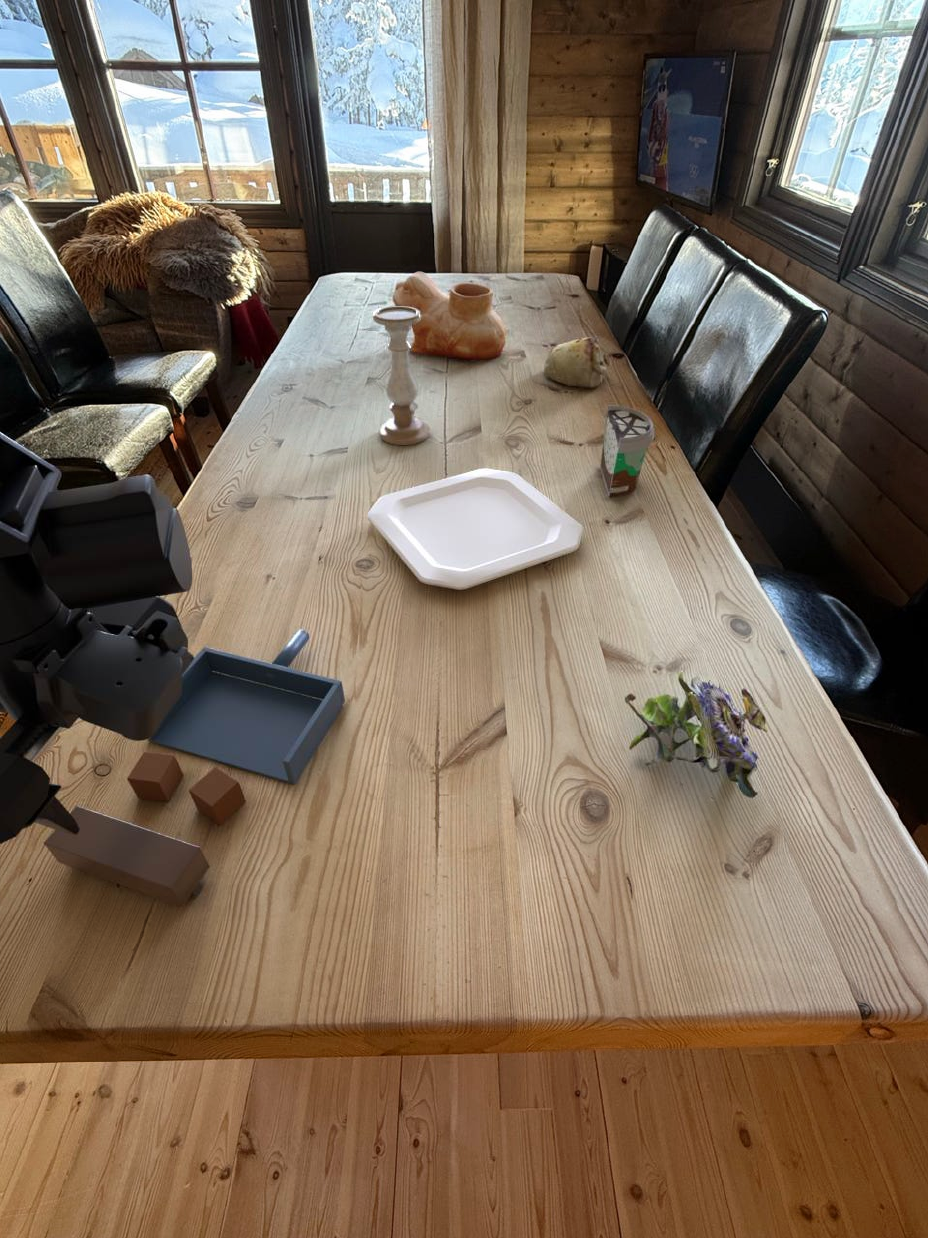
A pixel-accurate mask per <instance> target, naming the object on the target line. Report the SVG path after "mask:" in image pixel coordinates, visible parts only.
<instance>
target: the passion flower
mask: <svg viewBox="0 0 928 1238" xmlns="http://www.w3.org/2000/svg"><path fill="white" fill-rule="evenodd" d="M684 673H685V671H684V670H680V671H679V672H678V677H677V680H678V683H679V685H680V687H681V688H682V690H683V692H684V695H685V699H684V701H683V704H682V707H680V706H679V704H678V702H679V701H678V700H679V697H677V695H673V696H671V695H670V694H668V693H663V694H662V695H659V696H656V697H655V698H654V697H648V698H647V700H646V702H645V703H644V706H643V708H642V710H641V711H640V713H639V711H638V710H637V709H636V707H635V706H634V704H632V703H631V702H633V701H635V700H636V699H637V698H636V697H637V696H635V695H634V694H633V693H631V692H630V693H629V694H627V695H626V696H624V703H625V704H628V706H629V707H630V708H631V710H632V711H633V713H635V714H636V716H637V717H638V718H639V719H640V720H641V721H642V722H643V723H644V724H645V726H646V729H645V730H643V732H641V733H640V734H637V735H636V736H635V737H634V738H633V740H631V742H630V746H629V748H628V750H629V751H632V749H634V748H635V747H636V746H637V745H639V744H640V743H641V742H642V741H644V740H645V739H649V738H654V739H655V740H656V741H657V746H656V748H655V750H654V755H653V757H652V759H650V760H649V761H647V762H645V763H644V764H645V766H646V767H647V766H649V765H653V764H655V763H658V762H667V763H671V762H673V761H674V760H678V761H687V762H690V763H692V764H693V763H694V764H696V763H698V764H700V766H701V767H702V768H703V769H707V770H708V771H709V772H710V773H712V774H713V773H718V772H720V770H721V769H722V768H723V766H724V767H725V771H726V772H725V773H726V775H727V777H728V780H729V781H731V782H732V783H736V784H737V786H738V790H739V791H740V792H741V794H743V795H744V796H745V797H747V798H749V799H753V798H755V797H756V796H757V795H758V794H759V792H758V791H757V790H756V788H755V787H754V784H753V780H752V775H753V773H755V772H756V771H757V770H758V764H757V760H758V759H759V757H758V754H757V753H755V751H753V749H752V748H751V745H750V744H749V738H748V737H746V735H745V732H746V729H745V726H746V725H745V724H746V720H747V721H748V723H749V725H751V726H752V727H753V728H755V729H757V730H759V731H760V730H761V731H763V732H765V733H767V732H768V728H767V726H766V723H767V721H766V717H765V716H764V714H763V712H762V710H761V708H760V707H759V706H758V705H757V703H756V702H755V700H754V697H753V696H752V694H751V693H750V692H749V691H748V690H747V689H746V688H742V689H741V696H742V701H743V705H744V710H745V713H743V714H742V712H741V711H739V710H736V708H734V703H732V697H730V695H729V694H727V693H726V692H725V689H724V688H722V687H721V684H720V683H719V684H718V687H717V686H716V685H715V683H712V684H711V683H710V682H711V679H709V681H708V682H706V681H701V678H700V676H699V675H698V674H697V675H694V676H693V677H692V679H690V683H689V682H688V681H687V680H684V675H683V674H684ZM695 717H696V719H697V721H699V722H700V724H701V725H699V724H694V722H690V720H691V719H692V718H695ZM678 729H681V730H683V731H684V732H685V733H686V735H687V737H688V738H686V739H684V740H683V741H681V742H677V741H676V740H675V734H676V731H677V730H678ZM661 733H664V734H666V735H667V736H668V737H669V740H670V741H669V742H670V743H669V745H668V747H667V746H666V744H665V743H664V741H663V740H662V738H661V737H660V734H661ZM689 741H691V743H692V746H693V747H694V748H695V750H696V752H695V755H694V757H688V756H679V755H676V751H677V749H679V748H680V747H682V746H683V745H686V744H687V743H688V742H689Z"/></svg>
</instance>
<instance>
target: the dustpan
mask: <svg viewBox="0 0 928 1238" xmlns="http://www.w3.org/2000/svg"><path fill="white" fill-rule="evenodd" d="M309 640H310V633H309V632H308V631H307V630H305V629H298V630H297V631H296V632H295V633H294V635H293V636H292V637H291V638H290V640H288V642H287V644H285V646H284V647H283V648H282V650H281V651H280V653H279V654H278V655H277V656H276V657H275V658H274V660H273V661H272V662H267V661H263V660H259V659H256V658H251V657H247V656H243V655H240V654H235V653H231V652H226V651H223V650H218V649H215V648H210V647H207V646H203V648H202V649H201V650H200V651H199V652H198V653H197V654H196V655H195V656H194V660H193V661H192V662H191V664H190V665H189V667H188V668H187V669H186V671H185V672H184V674H183V675H182V694H181V697H180V699H179V700H178V702H177V703H175V704H174V706H173V707H172V708H171V710H170V711H169V713H168V714H167V715H166V717H165V718H164V720H163V721H162V723H161V724H160V727H159V729H158V730H157V731H156V733H155V734H154V735H153V736H152V737H150V738H148V739H147V742H150V743H153V744H157V745H159V746H162V747H166V748H170V749H173V750H176V751H180V752H182V753H183V752H184V753H187V754H190V755H193V756H196V757H199V758H204V759H207V760H210V761H213V762H217V763H220V764H223V765H227V766H231V767H233V768H237V769H240V770H244V771H248V772H251V773H254V774H258V775H261V776H264V777H268V778H271V779H274V780H278V781H281V782H284V783H287V784H291V785H294V786H295V785H296V784H297V782H298V780H299V779H300V777H301V775H302V774H303V772H304V771H305V769H306V767H307V766H308V764H309V763H310V761H311V759H312V758H313V756H314V754H315V753H316V751H317V750H318V749H319V747H320V745H321V743H322V742H323V740H324V738H325V737H326V735H327V734H328V732H329V731H330V729H331V728H332V727H333V726H332V725H334V723H335V721H336V719H337V718H338V716H339V714H341V711H342V710H343V708H344V704H345V702H346V697H345V692H344V686H343V682H342V680H340V679H339V680H338V679H335V678H331V677H326V676H323V675H319V674H315V673H311V672H307V671H302V670H299V669H295V668H291V667H290V666H291V664H292V663H293V662H294V660H295V658H297V656H298V655H299V654H300V652H301V651H302V649H303V648H304V647H305V645H306V644H307V643H308V642H309Z"/></svg>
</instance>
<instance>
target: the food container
mask: <svg viewBox="0 0 928 1238" xmlns="http://www.w3.org/2000/svg"><path fill="white" fill-rule="evenodd" d="M654 429H655V428H654V425H653V420H652V419H651V418H650V417H649V416H648V415H647V414H646V413H644V412H642V411H640V410H637V409H634V408H632V407H627V406H622V405H614V404H613V405H610V404H608V405H607V407H606V412H605V423H604V432H603V440H602V447H601V448H602V449H601V457H600V464H599V469H600V472H601V475H602V479H603V482H604V485H605V489H606V493H607V497H608V498H618V497H622V496H625V495H628V494H631V493H633V492H634V491H635V489H636V488H637V485H638V481H639V478H640V474H641V471H642V467H643V463H644V460H645V456H646V453H647V449H648V447H650V446H651V445H652V444H653V442H654V440H655V430H654Z"/></svg>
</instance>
